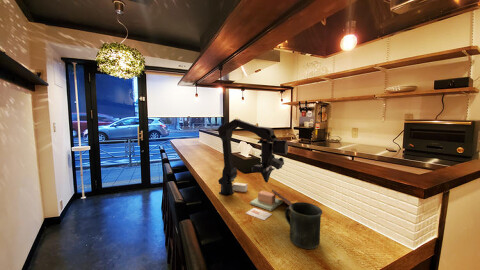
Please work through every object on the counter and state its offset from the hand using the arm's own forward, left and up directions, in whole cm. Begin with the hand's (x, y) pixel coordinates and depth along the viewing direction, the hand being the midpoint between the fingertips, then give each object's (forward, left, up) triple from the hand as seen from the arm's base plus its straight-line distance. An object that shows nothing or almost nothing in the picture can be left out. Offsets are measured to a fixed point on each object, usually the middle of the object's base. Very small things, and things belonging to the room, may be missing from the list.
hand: (266, 182), depth 103 cm
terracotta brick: (+1, -1, -10) cm, 10 cm away
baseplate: (+1, -1, -11) cm, 11 cm away
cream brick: (-21, +5, -11) cm, 25 cm away
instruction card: (+4, -13, -11) cm, 17 cm away
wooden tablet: (+16, +2, -11) cm, 19 cm away
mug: (+26, -19, -11) cm, 34 cm away
